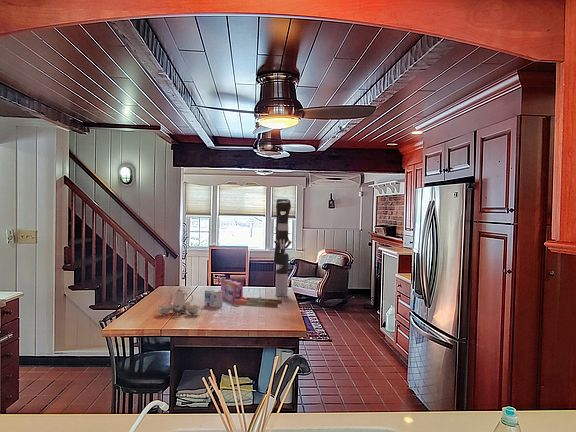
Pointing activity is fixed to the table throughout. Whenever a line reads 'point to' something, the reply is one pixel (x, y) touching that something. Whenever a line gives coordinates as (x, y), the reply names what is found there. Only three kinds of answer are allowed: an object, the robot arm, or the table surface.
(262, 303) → the track
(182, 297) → the chinaware
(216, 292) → the light bulb box
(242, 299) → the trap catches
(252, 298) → the slate block
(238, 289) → the gum box
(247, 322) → the table surface
